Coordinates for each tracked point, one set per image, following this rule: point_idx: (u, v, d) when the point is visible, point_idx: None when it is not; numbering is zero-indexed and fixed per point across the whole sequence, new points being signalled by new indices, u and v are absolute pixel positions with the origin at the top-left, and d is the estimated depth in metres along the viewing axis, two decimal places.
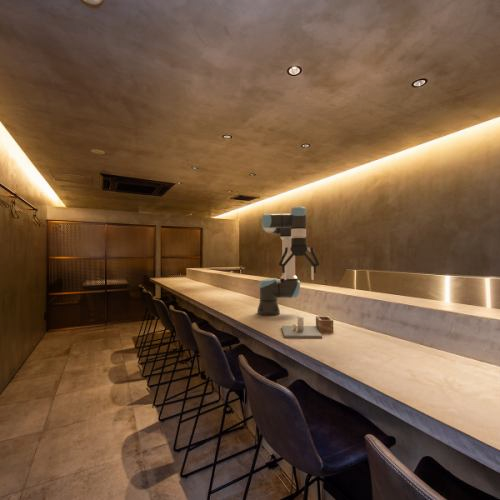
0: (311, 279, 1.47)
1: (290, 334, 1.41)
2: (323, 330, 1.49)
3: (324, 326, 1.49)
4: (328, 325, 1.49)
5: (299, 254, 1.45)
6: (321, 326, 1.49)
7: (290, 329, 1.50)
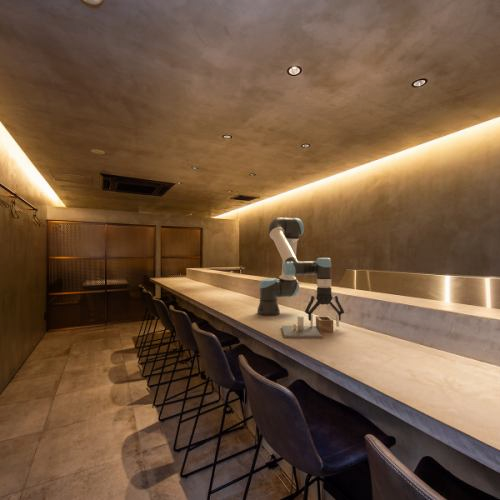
0: None
1: (290, 334, 1.41)
2: (323, 330, 1.49)
3: (324, 326, 1.49)
4: (328, 325, 1.49)
5: (325, 303, 1.53)
6: (321, 326, 1.49)
7: (290, 329, 1.50)
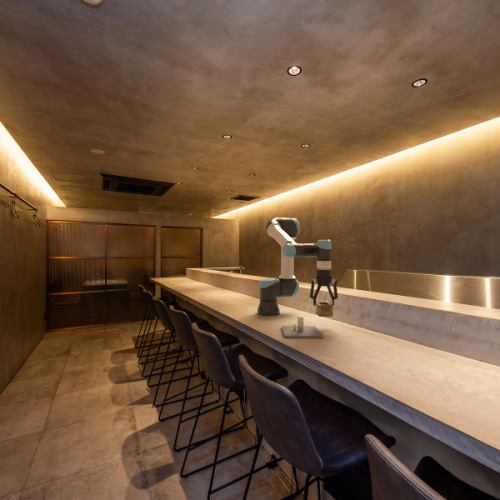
0: None
1: (290, 334, 1.41)
2: (322, 315, 1.50)
3: (324, 311, 1.50)
4: (327, 310, 1.49)
5: (324, 285, 1.54)
6: (320, 311, 1.50)
7: (290, 329, 1.50)
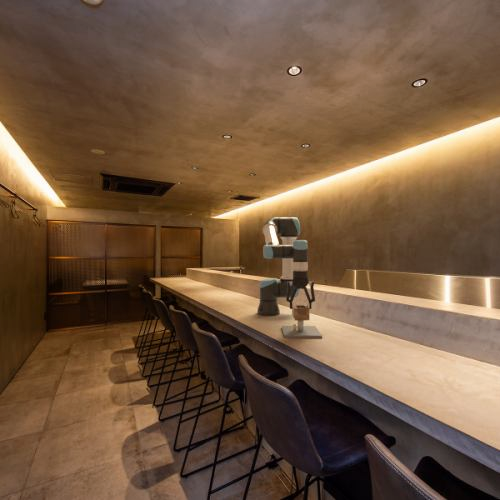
0: None
1: (290, 334, 1.41)
2: (298, 319, 1.42)
3: (300, 315, 1.42)
4: (304, 313, 1.42)
5: (301, 287, 1.47)
6: (296, 314, 1.42)
7: (290, 329, 1.50)
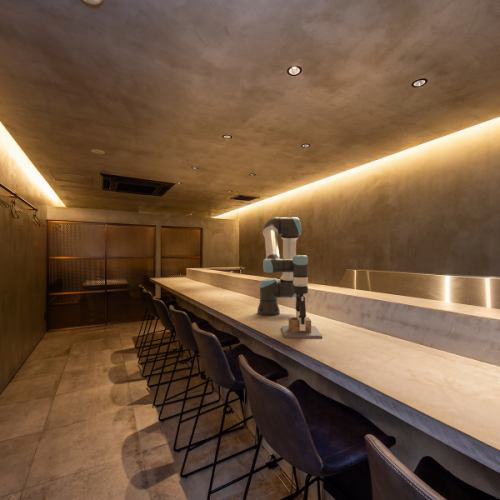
0: None
1: (290, 334, 1.41)
2: None
3: (289, 324, 1.49)
4: (289, 324, 1.47)
5: None
6: None
7: None
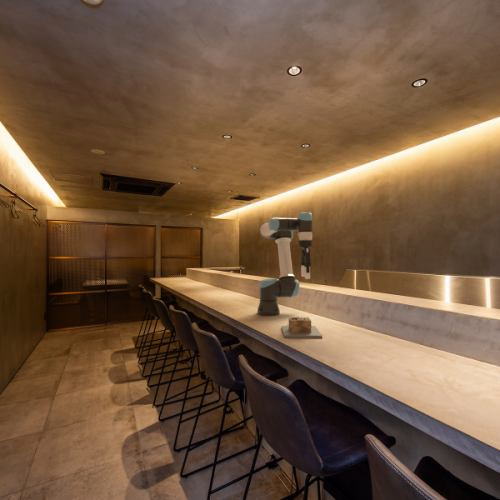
0: (308, 278, 1.56)
1: (290, 334, 1.41)
2: None
3: (289, 324, 1.49)
4: (289, 324, 1.47)
5: None
6: None
7: None
